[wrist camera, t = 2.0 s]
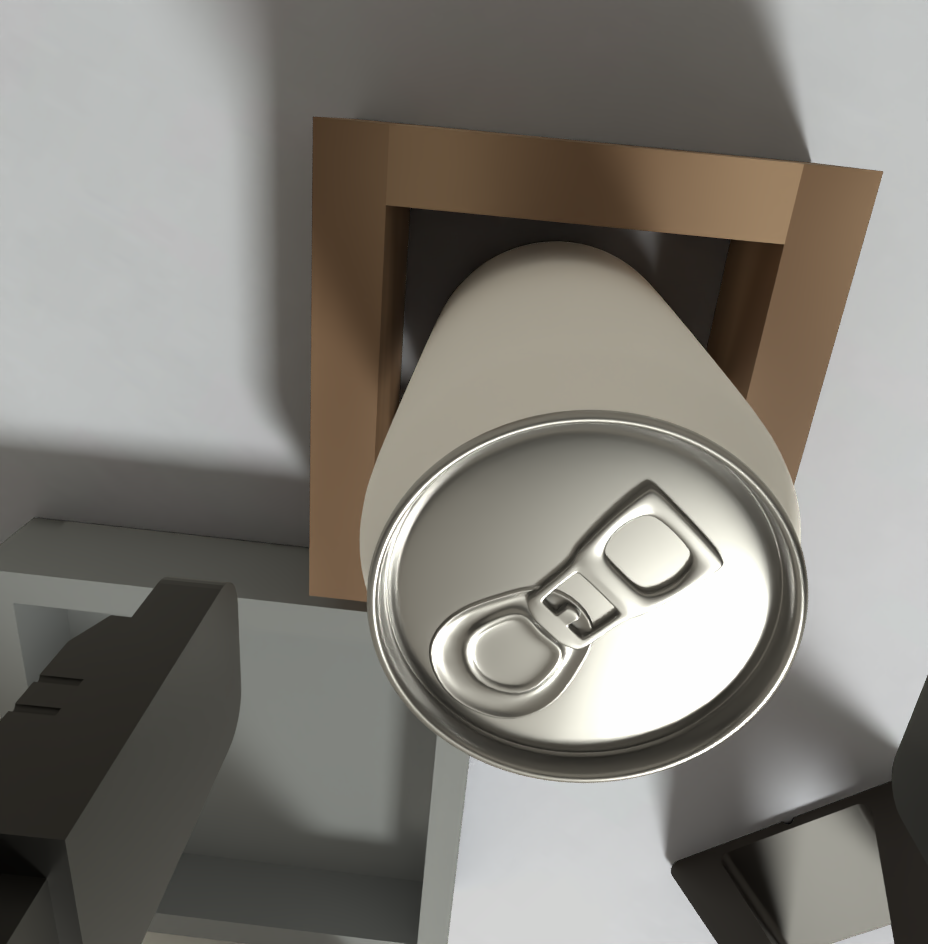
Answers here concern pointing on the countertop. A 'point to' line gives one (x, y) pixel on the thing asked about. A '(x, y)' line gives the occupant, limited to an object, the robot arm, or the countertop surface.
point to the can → (579, 529)
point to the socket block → (568, 201)
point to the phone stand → (814, 878)
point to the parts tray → (268, 742)
